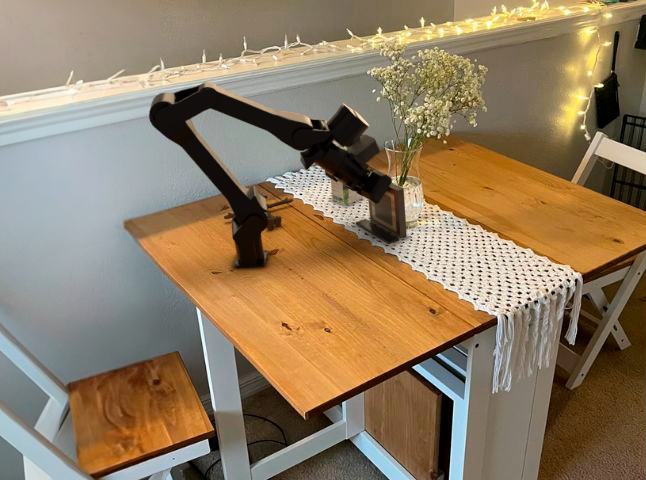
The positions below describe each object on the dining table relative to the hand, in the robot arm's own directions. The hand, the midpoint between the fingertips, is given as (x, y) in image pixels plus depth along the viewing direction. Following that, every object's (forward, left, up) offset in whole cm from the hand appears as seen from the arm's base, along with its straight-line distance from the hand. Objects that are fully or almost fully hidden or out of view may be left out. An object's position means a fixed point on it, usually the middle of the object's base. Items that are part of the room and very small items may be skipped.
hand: (381, 194), depth 151 cm
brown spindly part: (+10, +29, -10) cm, 32 cm away
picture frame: (+1, -1, -9) cm, 10 cm away
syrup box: (+19, +9, -10) cm, 23 cm away
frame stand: (-1, +1, -9) cm, 10 cm away
